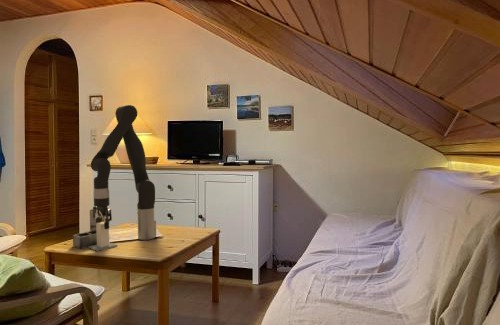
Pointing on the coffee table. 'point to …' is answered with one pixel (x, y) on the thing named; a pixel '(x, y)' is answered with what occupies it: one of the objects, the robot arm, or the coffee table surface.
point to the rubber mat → (102, 247)
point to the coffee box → (94, 221)
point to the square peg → (102, 235)
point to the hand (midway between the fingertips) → (102, 227)
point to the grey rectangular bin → (85, 239)
